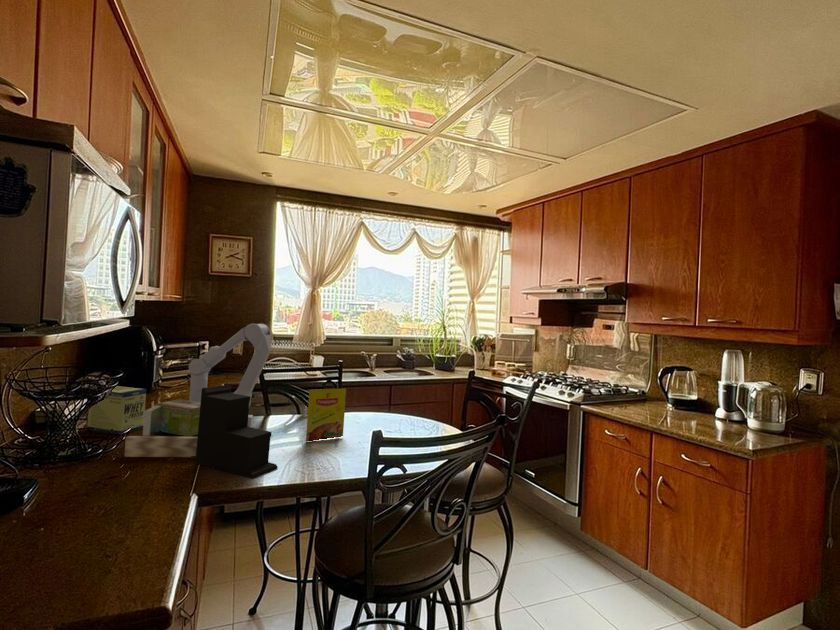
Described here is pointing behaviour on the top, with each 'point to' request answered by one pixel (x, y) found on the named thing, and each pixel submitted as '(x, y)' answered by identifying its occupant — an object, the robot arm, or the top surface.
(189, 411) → the tea box
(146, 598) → the top surface
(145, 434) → the small book
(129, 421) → the protein box
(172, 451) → the shelf wall
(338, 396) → the food package
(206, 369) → the robot arm
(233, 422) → the black stepped block
